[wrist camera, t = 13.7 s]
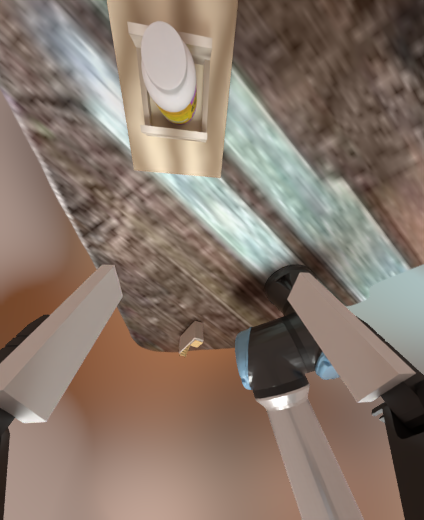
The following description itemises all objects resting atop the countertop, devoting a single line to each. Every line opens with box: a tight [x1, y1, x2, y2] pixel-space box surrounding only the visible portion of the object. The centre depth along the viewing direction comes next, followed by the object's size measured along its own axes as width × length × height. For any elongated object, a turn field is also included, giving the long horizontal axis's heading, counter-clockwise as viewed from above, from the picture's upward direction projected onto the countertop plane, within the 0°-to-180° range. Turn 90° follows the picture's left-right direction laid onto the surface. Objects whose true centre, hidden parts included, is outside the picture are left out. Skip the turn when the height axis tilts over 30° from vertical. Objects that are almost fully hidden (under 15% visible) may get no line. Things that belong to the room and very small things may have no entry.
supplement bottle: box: [141, 21, 197, 125], centre depth 19 cm, size 6×6×11 cm
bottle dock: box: [107, 0, 238, 178], centre depth 22 cm, size 16×20×5 cm
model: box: [179, 321, 203, 357], centre depth 54 cm, size 3×11×8 cm, turn 144°
